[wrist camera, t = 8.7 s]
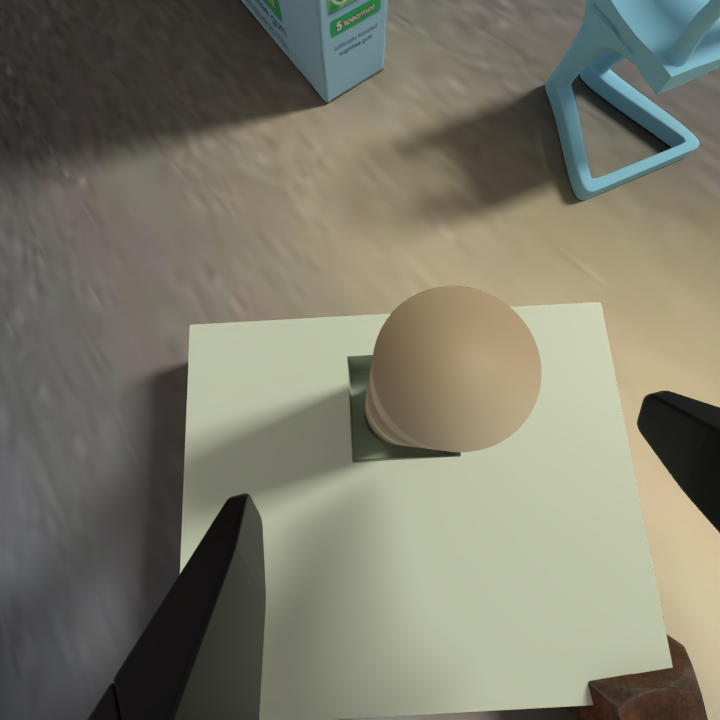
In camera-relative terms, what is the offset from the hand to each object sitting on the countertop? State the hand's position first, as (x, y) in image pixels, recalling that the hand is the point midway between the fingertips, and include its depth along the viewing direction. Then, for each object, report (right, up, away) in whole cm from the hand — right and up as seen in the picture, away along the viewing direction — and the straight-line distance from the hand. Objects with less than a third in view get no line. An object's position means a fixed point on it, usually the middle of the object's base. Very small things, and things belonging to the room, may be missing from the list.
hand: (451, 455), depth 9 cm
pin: (0, -1, +11) cm, 11 cm away
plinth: (0, -4, +11) cm, 12 cm away
